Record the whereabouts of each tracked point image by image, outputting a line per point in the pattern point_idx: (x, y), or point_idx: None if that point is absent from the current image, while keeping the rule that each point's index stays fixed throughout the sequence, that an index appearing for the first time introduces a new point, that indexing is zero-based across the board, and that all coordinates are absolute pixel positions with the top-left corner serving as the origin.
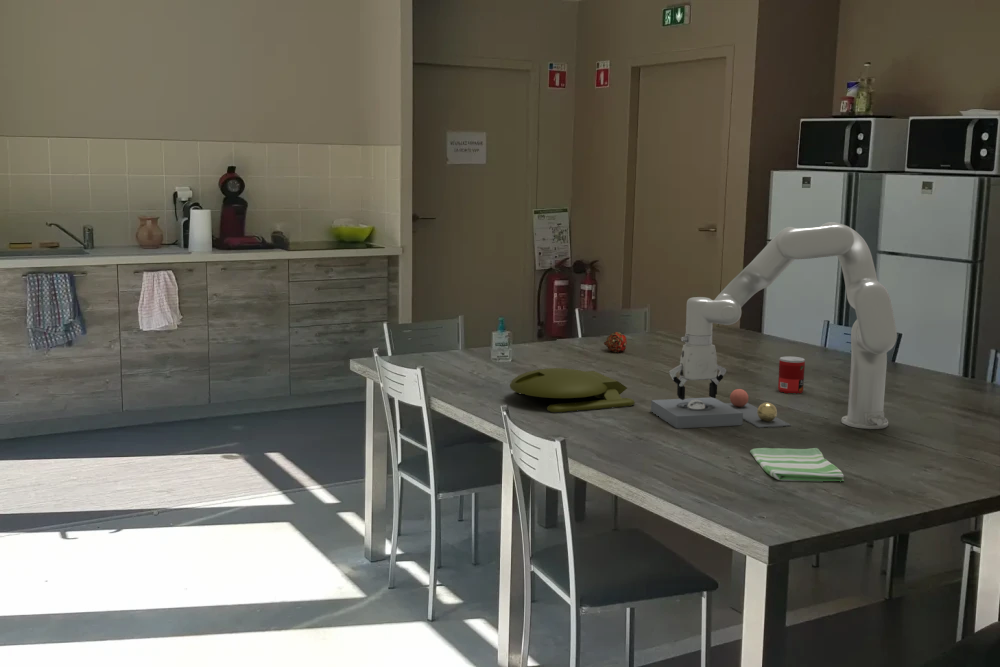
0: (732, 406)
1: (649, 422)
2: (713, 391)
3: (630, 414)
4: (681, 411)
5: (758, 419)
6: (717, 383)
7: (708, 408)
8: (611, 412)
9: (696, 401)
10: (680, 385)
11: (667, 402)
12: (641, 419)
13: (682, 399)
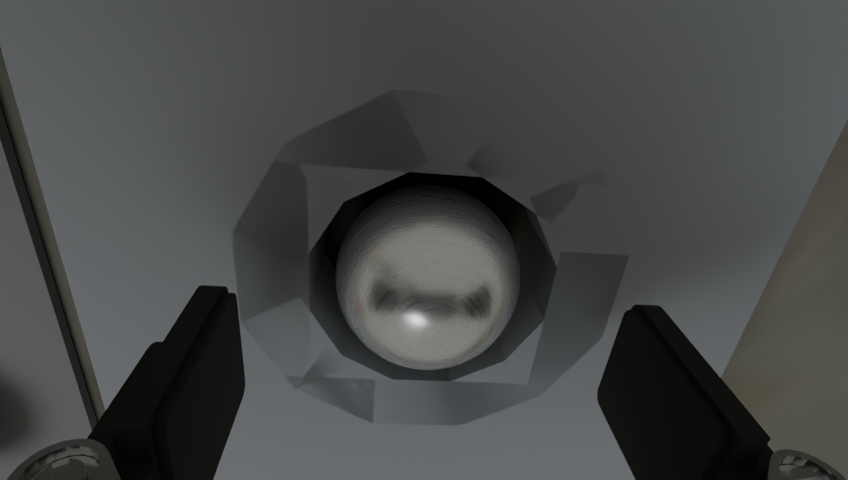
0: (6, 426)
1: (844, 208)
2: (206, 345)
3: (781, 410)
4: (708, 139)
5: None
6: (58, 464)
7: (343, 184)
8: (840, 462)
9: (455, 293)
10: (801, 472)
11: (590, 443)
12: (822, 295)
13: (657, 305)
